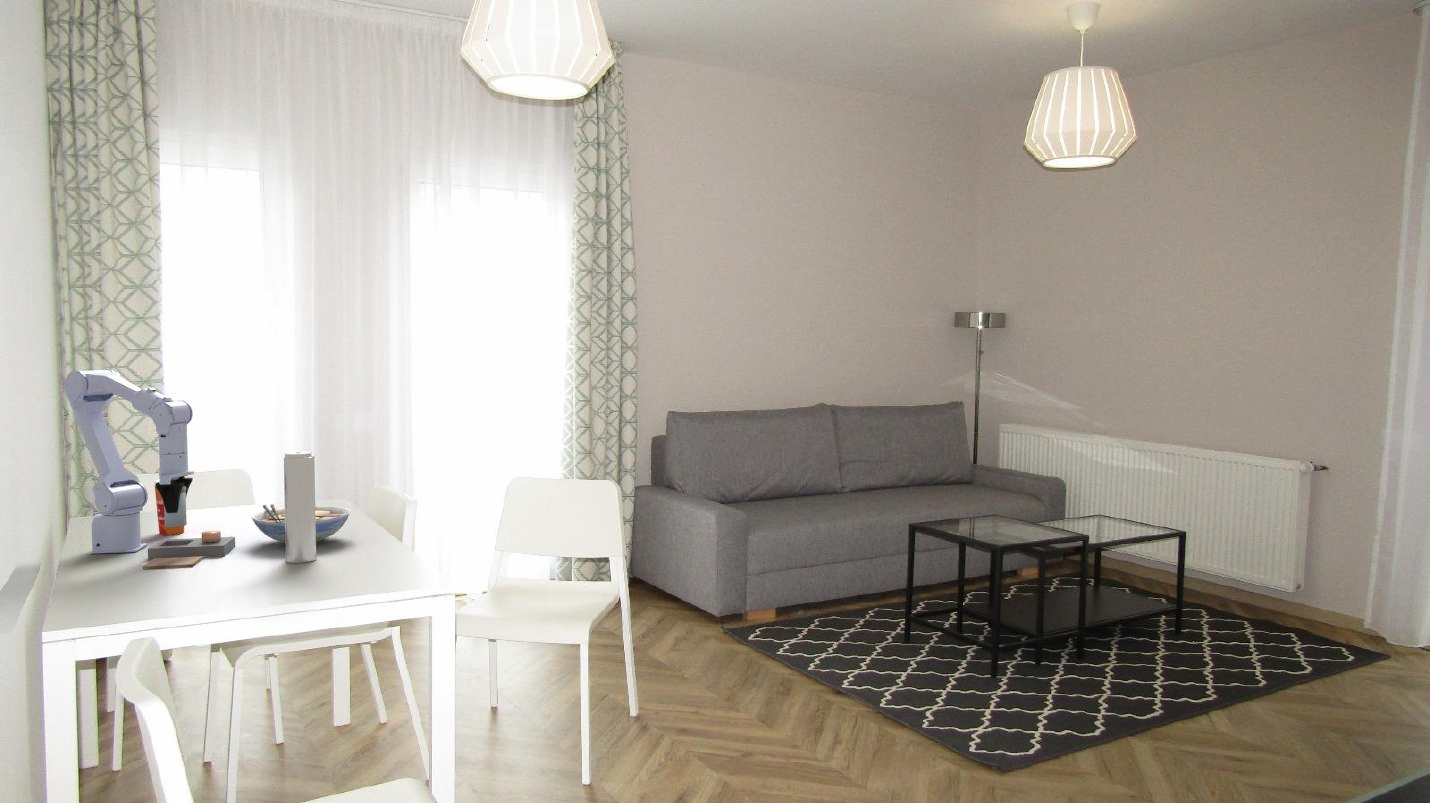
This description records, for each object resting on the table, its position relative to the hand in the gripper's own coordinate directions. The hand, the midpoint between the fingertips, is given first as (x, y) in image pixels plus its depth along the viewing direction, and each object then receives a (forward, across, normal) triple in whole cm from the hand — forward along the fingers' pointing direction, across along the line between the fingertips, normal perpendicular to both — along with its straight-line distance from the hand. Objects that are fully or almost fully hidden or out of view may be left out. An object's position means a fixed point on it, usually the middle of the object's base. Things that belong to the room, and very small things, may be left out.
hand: (175, 510), depth 218 cm
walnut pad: (+10, -9, -2) cm, 14 cm away
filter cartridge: (+3, 0, 0) cm, 3 cm away
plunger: (+8, +2, -7) cm, 11 cm away
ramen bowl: (+11, +8, -26) cm, 29 cm away
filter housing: (+10, +2, -3) cm, 11 cm away
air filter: (+11, -12, -29) cm, 33 cm away
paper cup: (+11, +28, +9) cm, 31 cm away
